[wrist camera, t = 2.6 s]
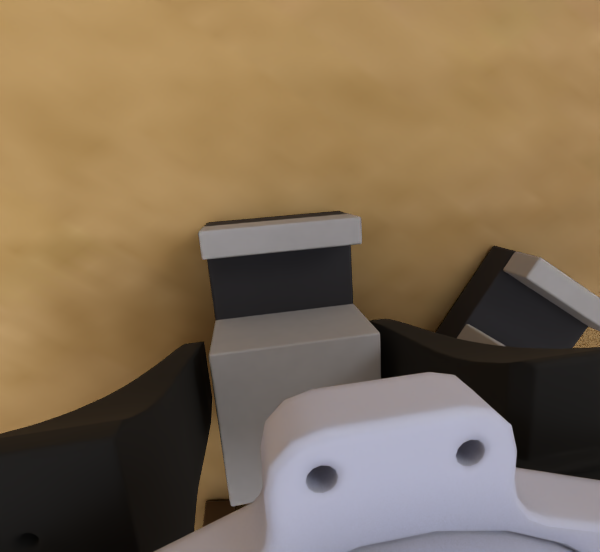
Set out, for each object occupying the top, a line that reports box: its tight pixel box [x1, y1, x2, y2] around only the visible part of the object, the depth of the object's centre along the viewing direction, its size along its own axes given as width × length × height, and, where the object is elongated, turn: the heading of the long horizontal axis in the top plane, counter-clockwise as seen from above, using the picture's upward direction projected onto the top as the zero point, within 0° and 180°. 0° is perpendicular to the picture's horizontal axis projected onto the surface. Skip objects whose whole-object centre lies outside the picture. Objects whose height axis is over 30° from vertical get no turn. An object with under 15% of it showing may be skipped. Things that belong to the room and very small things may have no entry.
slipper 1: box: [198, 211, 381, 506], centre depth 12 cm, size 8×5×4 cm, turn 4°
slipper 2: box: [436, 246, 600, 349], centre depth 14 cm, size 8×5×4 cm, turn 149°
